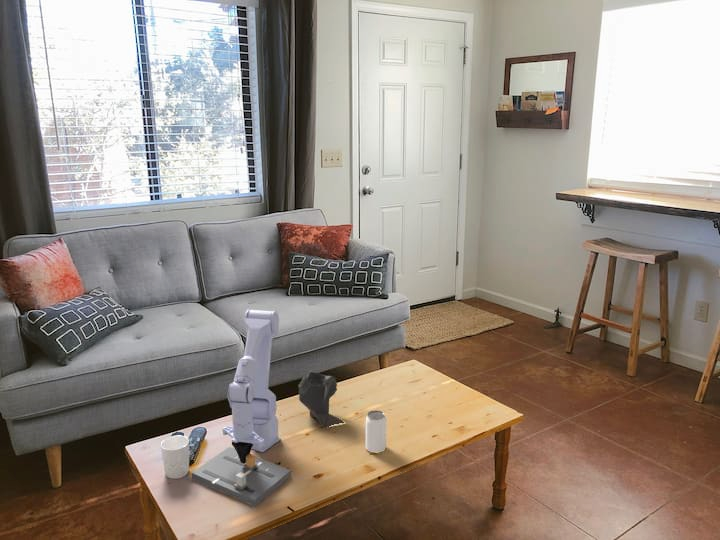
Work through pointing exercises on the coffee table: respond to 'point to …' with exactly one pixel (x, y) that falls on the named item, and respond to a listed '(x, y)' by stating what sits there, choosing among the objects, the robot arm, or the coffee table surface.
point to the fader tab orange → (250, 462)
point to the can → (375, 431)
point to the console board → (228, 465)
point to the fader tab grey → (241, 481)
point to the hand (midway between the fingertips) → (244, 461)
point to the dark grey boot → (318, 397)
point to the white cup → (175, 456)
